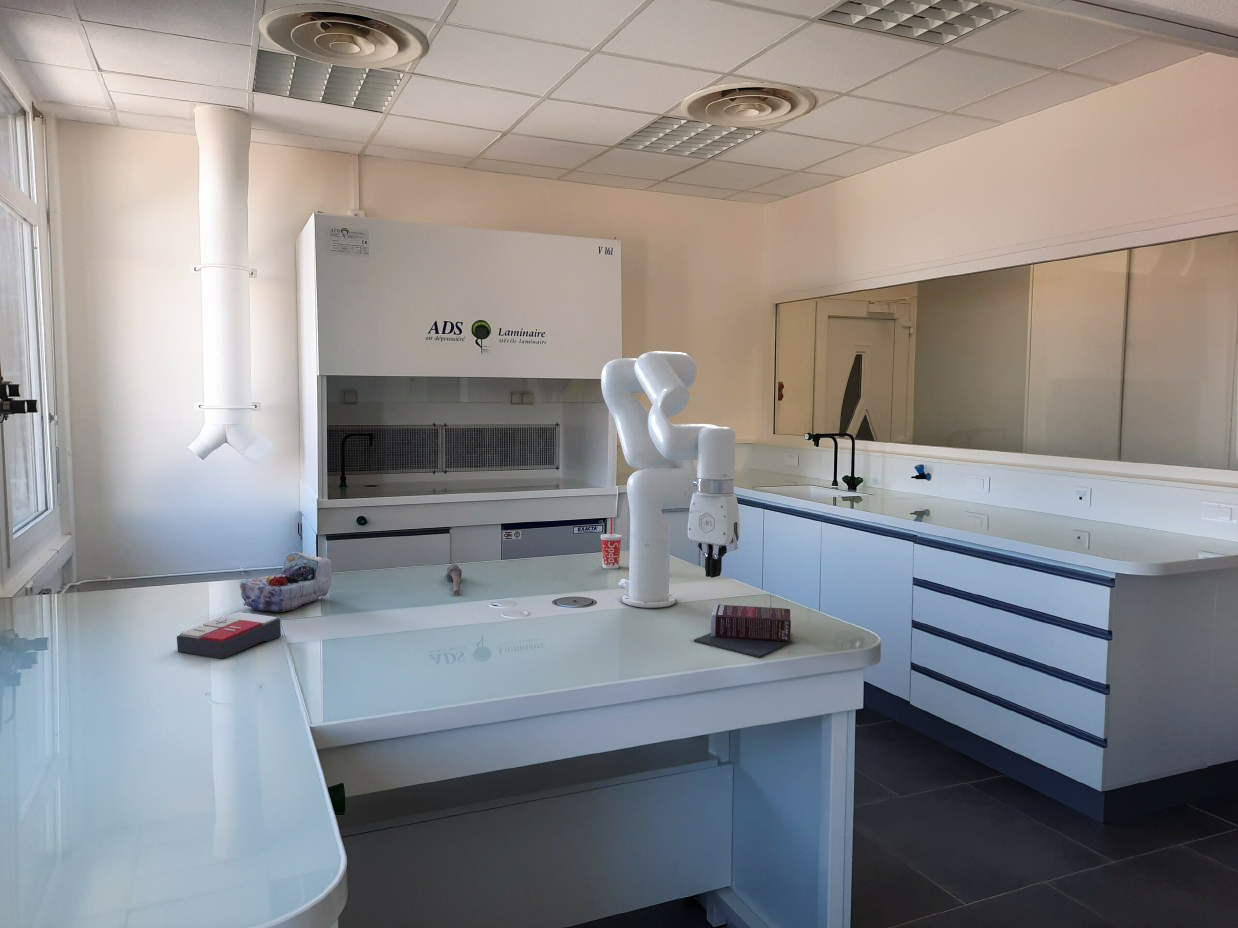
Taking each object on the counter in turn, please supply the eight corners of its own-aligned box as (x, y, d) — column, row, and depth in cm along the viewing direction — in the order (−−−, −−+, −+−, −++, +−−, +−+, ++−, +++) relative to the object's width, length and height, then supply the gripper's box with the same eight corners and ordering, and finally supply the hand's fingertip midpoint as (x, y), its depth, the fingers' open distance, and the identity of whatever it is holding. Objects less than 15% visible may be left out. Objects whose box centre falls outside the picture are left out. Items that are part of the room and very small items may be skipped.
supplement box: (710, 637, 169) (790, 642, 166) (710, 614, 169) (791, 619, 166) (714, 625, 178) (790, 629, 175) (714, 603, 177) (790, 607, 174)
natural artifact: (454, 579, 222) (463, 566, 222) (457, 596, 200) (467, 582, 200) (442, 571, 221) (452, 558, 221) (443, 588, 199) (453, 574, 199)
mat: (693, 641, 167) (693, 639, 167) (728, 627, 177) (728, 625, 177) (759, 657, 158) (759, 655, 158) (792, 642, 168) (792, 640, 168)
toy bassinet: (338, 551, 195) (277, 570, 176) (339, 596, 196) (278, 620, 177) (293, 546, 199) (228, 564, 180) (294, 590, 200) (230, 613, 182)
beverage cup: (597, 568, 233) (598, 518, 231) (601, 564, 239) (602, 515, 237) (619, 569, 232) (620, 519, 230) (623, 565, 238) (624, 516, 236)
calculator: (175, 632, 154) (237, 608, 168) (176, 654, 155) (238, 629, 169) (221, 639, 151) (281, 614, 165) (223, 662, 151) (282, 635, 165)
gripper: (674, 485, 172) (672, 573, 173) (737, 492, 162) (734, 585, 164) (695, 483, 177) (693, 568, 179) (756, 489, 168) (754, 578, 169)
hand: (713, 575), depth 171 cm, fingers closed
